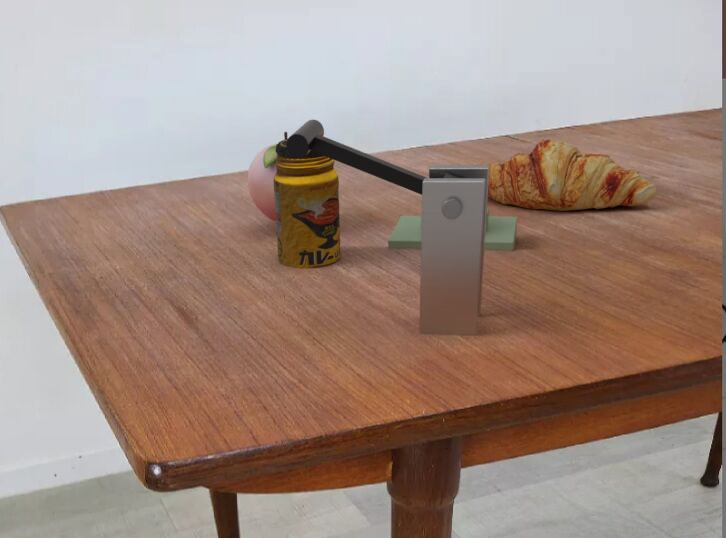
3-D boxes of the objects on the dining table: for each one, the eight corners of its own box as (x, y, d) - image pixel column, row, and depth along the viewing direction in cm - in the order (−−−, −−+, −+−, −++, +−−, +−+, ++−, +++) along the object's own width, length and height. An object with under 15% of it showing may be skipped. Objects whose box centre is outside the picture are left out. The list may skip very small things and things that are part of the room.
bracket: (380, 357, 74) (380, 186, 67) (395, 320, 80) (396, 161, 73) (510, 362, 72) (524, 186, 65) (515, 324, 78) (528, 160, 71)
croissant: (651, 232, 108) (666, 160, 107) (648, 210, 99) (665, 131, 97) (470, 217, 115) (483, 149, 114) (452, 196, 106) (466, 121, 105)
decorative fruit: (270, 215, 110) (264, 122, 104) (336, 218, 107) (333, 123, 102) (237, 238, 103) (229, 140, 97) (307, 242, 100) (303, 141, 95)
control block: (515, 238, 98) (519, 198, 96) (511, 265, 91) (515, 222, 88) (400, 236, 100) (401, 197, 98) (388, 263, 93) (388, 221, 91)
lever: (281, 159, 68) (291, 125, 67) (298, 143, 73) (307, 111, 71) (463, 231, 68) (476, 199, 67) (469, 211, 73) (482, 180, 71)
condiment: (337, 285, 88) (333, 149, 82) (250, 283, 90) (239, 149, 83) (351, 261, 94) (348, 132, 87) (269, 260, 96) (260, 133, 89)
